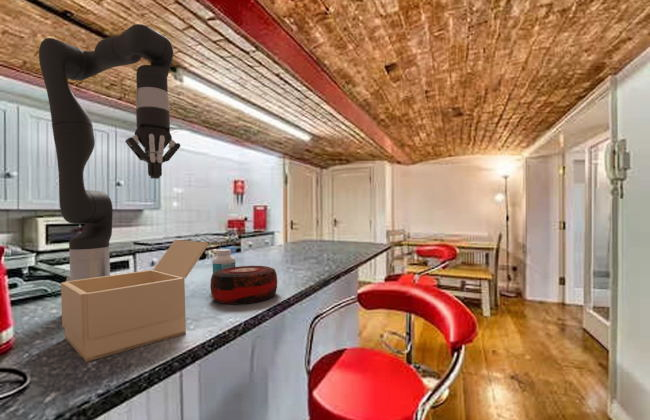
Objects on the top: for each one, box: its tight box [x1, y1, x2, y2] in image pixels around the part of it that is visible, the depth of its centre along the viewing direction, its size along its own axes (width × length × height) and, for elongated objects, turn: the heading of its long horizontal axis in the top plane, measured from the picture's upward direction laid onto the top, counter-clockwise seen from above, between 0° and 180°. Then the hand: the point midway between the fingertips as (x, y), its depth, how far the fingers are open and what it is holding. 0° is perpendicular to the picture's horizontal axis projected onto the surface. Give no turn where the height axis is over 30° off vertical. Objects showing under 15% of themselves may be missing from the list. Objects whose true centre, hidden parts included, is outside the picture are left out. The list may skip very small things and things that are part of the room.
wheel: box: [210, 265, 278, 305], centre depth 106 cm, size 20×8×20 cm
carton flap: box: [153, 239, 209, 280], centre depth 82 cm, size 9×17×1 cm
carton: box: [60, 269, 187, 363], centre depth 74 cm, size 18×19×12 cm
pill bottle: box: [212, 248, 236, 274], centre depth 116 cm, size 8×7×14 cm
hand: (155, 178), depth 87 cm, fingers closed
